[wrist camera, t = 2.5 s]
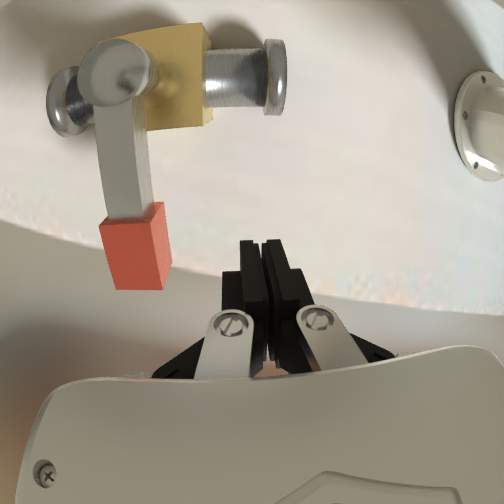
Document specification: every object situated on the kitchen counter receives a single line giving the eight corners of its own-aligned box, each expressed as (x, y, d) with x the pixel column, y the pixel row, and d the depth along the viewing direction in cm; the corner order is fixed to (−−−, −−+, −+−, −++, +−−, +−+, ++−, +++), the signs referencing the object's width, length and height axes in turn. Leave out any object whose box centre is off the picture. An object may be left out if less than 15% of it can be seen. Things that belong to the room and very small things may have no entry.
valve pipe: (274, 43, 17) (298, 9, 9) (274, 118, 20) (297, 129, 13) (82, 67, 16) (15, 63, 9) (85, 135, 20) (21, 160, 12)
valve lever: (101, 54, 10) (76, 48, 7) (158, 42, 10) (141, 30, 8) (127, 262, 16) (112, 289, 13) (175, 261, 16) (166, 290, 13)
